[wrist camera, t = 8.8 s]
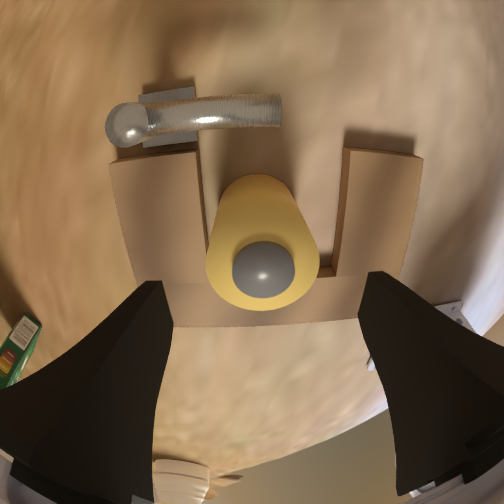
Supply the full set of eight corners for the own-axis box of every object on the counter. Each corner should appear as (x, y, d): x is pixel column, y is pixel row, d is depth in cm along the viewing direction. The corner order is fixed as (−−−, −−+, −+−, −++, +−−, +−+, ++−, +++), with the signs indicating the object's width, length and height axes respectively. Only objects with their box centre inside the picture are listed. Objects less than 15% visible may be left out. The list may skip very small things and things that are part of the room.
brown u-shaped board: (413, 154, 14) (423, 158, 13) (381, 304, 20) (386, 314, 19) (117, 159, 14) (108, 164, 13) (155, 315, 20) (151, 326, 19)
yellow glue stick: (296, 173, 15) (327, 217, 9) (293, 244, 17) (315, 314, 11) (215, 175, 15) (197, 221, 9) (221, 246, 17) (211, 318, 11)
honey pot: (156, 466, 48) (150, 524, 32) (152, 455, 41) (144, 525, 26) (207, 474, 50) (205, 532, 34) (212, 464, 43) (211, 535, 28)
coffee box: (24, 307, 20) (-32, 403, 8) (44, 324, 21) (-7, 425, 10) (17, 337, 22) (-24, 416, 11) (34, 351, 24) (-4, 432, 12)
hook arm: (266, 83, 12) (281, 66, 7) (267, 136, 14) (282, 155, 8) (142, 95, 12) (85, 94, 7) (146, 146, 14) (95, 172, 8)
